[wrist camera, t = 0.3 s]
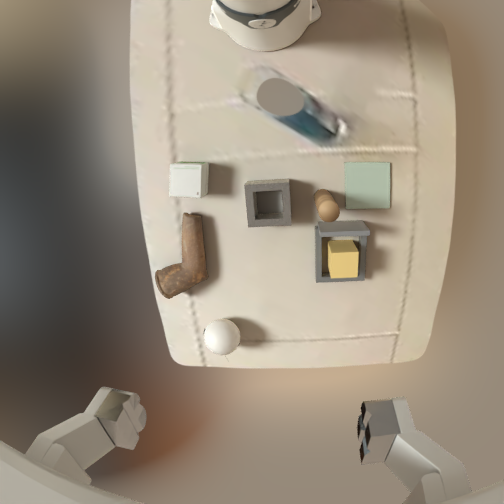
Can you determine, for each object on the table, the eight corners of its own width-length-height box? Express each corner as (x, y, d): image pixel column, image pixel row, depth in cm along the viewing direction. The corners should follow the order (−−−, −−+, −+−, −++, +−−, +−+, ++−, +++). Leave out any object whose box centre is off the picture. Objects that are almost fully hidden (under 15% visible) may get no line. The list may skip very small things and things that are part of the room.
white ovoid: (207, 310, 63) (197, 330, 56) (243, 313, 62) (237, 334, 55) (209, 347, 67) (201, 369, 60) (243, 351, 66) (237, 374, 59)
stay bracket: (247, 181, 53) (244, 184, 49) (289, 178, 52) (289, 182, 48) (251, 220, 55) (248, 227, 51) (291, 218, 54) (291, 225, 50)
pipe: (201, 216, 51) (143, 219, 51) (208, 304, 57) (156, 305, 57) (205, 207, 57) (153, 210, 57) (211, 288, 63) (163, 289, 63)
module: (327, 240, 55) (331, 253, 49) (352, 239, 54) (358, 252, 49) (327, 263, 56) (331, 278, 51) (351, 263, 56) (357, 277, 50)
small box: (210, 161, 52) (202, 164, 48) (208, 194, 54) (201, 199, 50) (178, 160, 53) (168, 163, 48) (178, 192, 55) (168, 197, 50)
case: (314, 221, 54) (317, 232, 48) (364, 220, 52) (372, 230, 47) (315, 278, 58) (317, 293, 52) (362, 276, 56) (369, 291, 51)
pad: (344, 162, 49) (344, 162, 49) (389, 162, 48) (389, 162, 48) (345, 208, 52) (346, 209, 52) (389, 207, 51) (389, 208, 51)
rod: (313, 189, 52) (318, 201, 42) (331, 188, 51) (339, 201, 42) (314, 206, 53) (318, 222, 44) (331, 206, 52) (339, 221, 43)
